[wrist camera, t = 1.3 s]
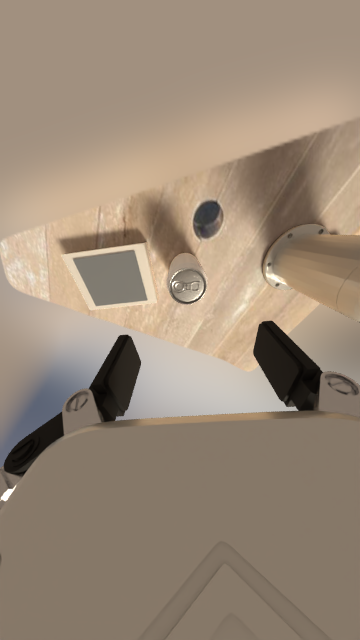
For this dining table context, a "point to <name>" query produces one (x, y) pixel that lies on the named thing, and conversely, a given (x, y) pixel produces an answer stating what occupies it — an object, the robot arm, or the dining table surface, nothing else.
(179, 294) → the can
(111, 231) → the dining table surface
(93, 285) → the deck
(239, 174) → the dining table surface
